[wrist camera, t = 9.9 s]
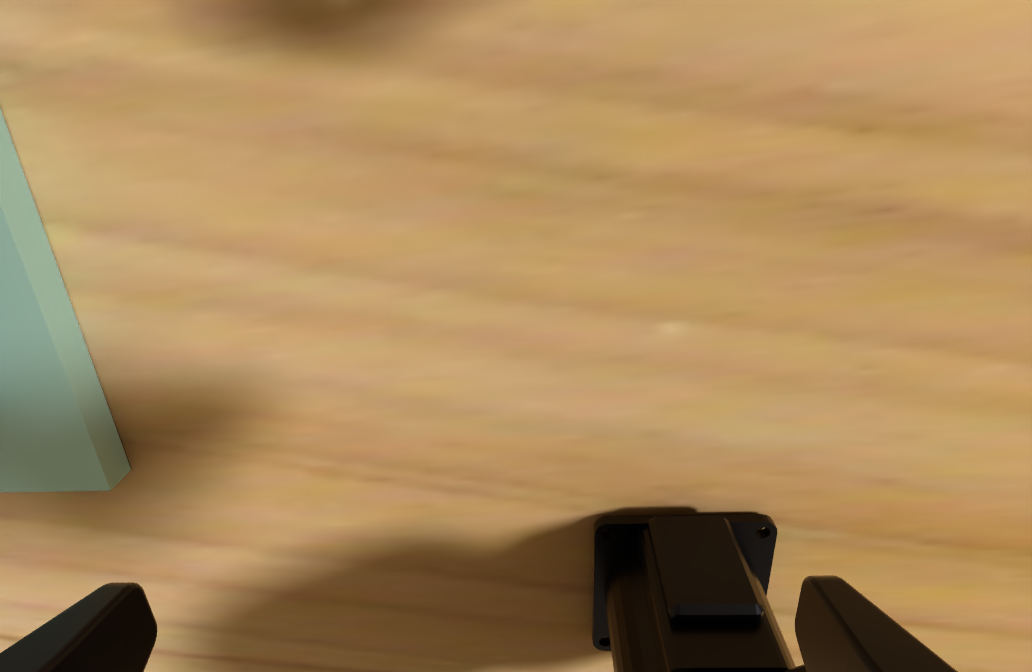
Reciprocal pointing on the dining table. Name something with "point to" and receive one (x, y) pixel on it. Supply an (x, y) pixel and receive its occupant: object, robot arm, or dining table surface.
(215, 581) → the dining table surface
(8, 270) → the header board
